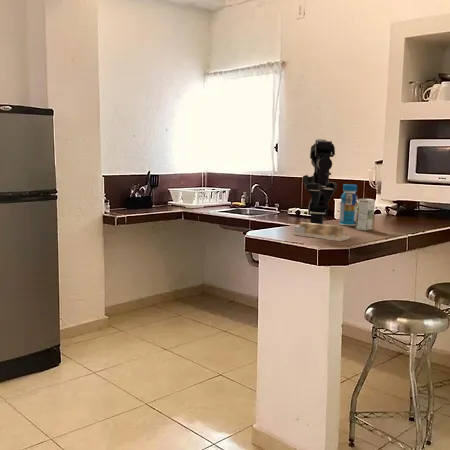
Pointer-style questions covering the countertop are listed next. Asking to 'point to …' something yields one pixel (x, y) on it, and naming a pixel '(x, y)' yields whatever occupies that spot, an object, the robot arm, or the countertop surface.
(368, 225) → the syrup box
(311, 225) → the oak rail
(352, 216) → the beverage bottle
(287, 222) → the countertop surface
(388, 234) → the countertop surface
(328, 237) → the bracket board
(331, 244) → the countertop surface
